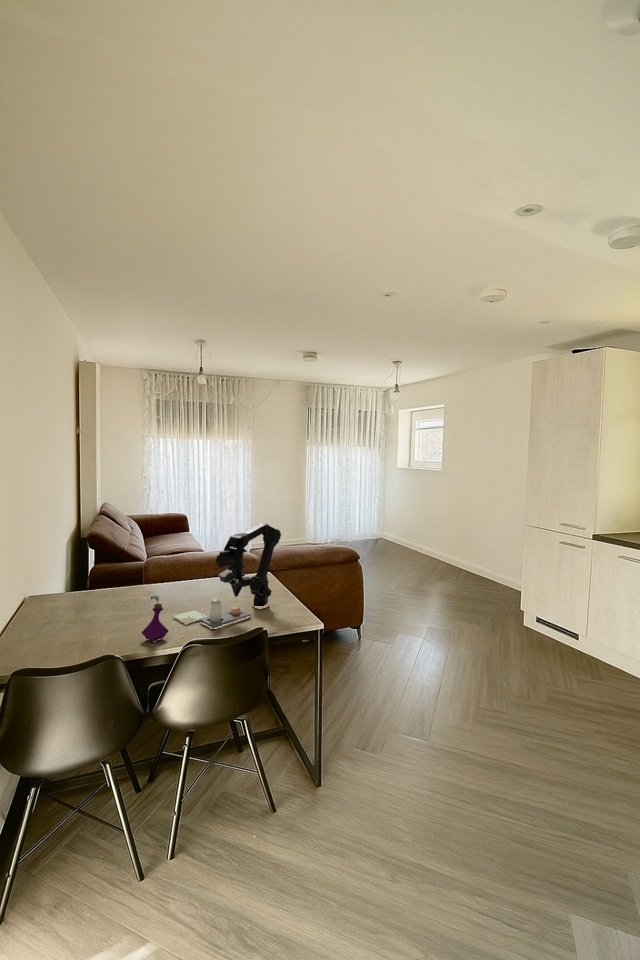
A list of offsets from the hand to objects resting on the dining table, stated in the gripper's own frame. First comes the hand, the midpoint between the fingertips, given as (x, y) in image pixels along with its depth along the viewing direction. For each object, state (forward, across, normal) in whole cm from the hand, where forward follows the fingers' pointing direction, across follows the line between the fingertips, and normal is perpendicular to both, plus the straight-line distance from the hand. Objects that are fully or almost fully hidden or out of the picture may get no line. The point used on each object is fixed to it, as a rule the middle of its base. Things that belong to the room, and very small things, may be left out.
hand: (236, 596), depth 205 cm
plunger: (+8, 0, 0) cm, 8 cm away
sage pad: (+10, -13, -16) cm, 23 cm away
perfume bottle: (+10, -3, -38) cm, 39 cm away
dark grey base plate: (+10, 0, -6) cm, 11 cm away
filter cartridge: (+10, 0, -11) cm, 15 cm away
